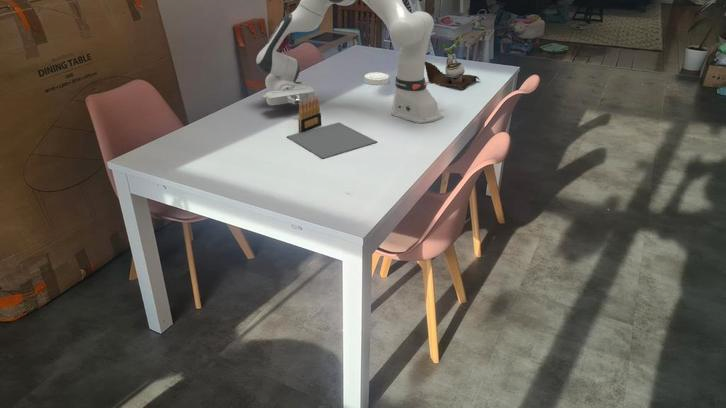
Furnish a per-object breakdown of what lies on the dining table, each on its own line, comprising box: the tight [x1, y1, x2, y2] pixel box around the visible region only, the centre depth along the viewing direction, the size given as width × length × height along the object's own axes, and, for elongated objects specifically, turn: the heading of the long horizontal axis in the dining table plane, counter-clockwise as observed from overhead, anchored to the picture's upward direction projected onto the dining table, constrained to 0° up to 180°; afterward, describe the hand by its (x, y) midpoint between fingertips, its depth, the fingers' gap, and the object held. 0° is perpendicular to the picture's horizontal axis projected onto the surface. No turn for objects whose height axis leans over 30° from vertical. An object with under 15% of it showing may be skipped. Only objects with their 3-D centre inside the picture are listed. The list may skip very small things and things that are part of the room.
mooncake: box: [363, 71, 390, 86], centre depth 257 cm, size 12×12×4 cm
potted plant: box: [425, 35, 481, 90], centre depth 253 cm, size 20×19×25 cm
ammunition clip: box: [298, 95, 322, 133], centre depth 201 cm, size 11×2×12 cm, turn 140°
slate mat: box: [286, 121, 378, 160], centre depth 194 cm, size 24×24×1 cm
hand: (297, 101), depth 211 cm, fingers closed
